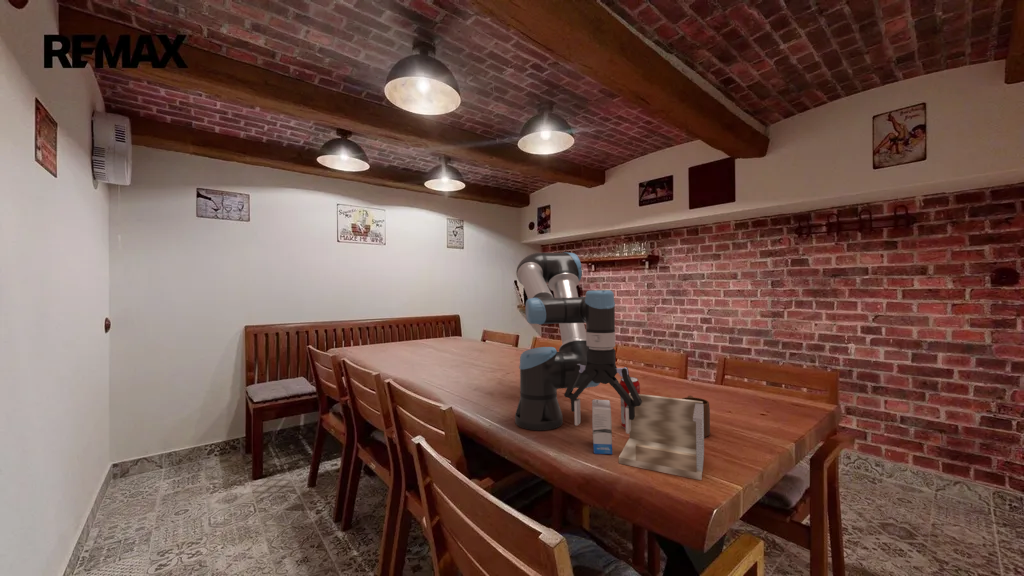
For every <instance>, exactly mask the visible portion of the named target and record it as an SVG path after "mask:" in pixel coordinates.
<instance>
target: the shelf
mask: <svg viewBox="0 0 1024 576" xmlns="http://www.w3.org/2000/svg"><path fill="white" fill-rule="evenodd" d="M629 396H630V397H631V398H632V396H631V394H630V393H629ZM639 396H640V398H641V400H642V403H641V405H640V406H636V407H635V417H634V419H633V420H631V431H630V433H629V435H628V436H629V438H628V440H627V442H626V443H625V445H624V447H623V449H622V450H621V452H620V454H619V456H618V464H621V465H623V466H624V465H625V466H631V467H635V468H638V469H639V468H641V469H644V470H649V471H654V472H660V473H664V474H669V475H673V476H679V477H683V478H689V479H692V480H693V479H694V480H698V481H702V480H703V478H702V477H703V472H700V471H697V464H696V422H695V421H693V414H694V409H695V403H700V404H703V401H695V400H687V399H682V398H676V397H667V396H660V395H651V394H644V393H643V394H642V393H640V394H639ZM632 400H633V398H632ZM633 401H634V400H633Z"/></svg>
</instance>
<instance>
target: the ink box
mask: <svg viewBox="0 0 1024 576" xmlns="http://www.w3.org/2000/svg"><path fill="white" fill-rule="evenodd" d="M591 405H592V406H591V410H592V411H591V412H592V414H591V415H592V416H591V418H592V419H591V421H592V427H591V428H592V444H593V445H592V446H593V454H594V455H613V431H612V430H613V429H612V406H611V401H610V400H608V399H596V398H595V399H592V400H591Z"/></svg>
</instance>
